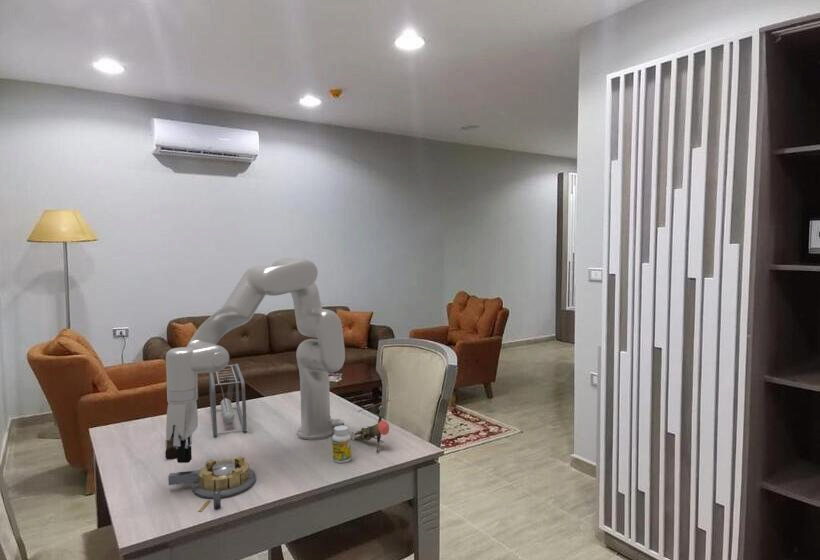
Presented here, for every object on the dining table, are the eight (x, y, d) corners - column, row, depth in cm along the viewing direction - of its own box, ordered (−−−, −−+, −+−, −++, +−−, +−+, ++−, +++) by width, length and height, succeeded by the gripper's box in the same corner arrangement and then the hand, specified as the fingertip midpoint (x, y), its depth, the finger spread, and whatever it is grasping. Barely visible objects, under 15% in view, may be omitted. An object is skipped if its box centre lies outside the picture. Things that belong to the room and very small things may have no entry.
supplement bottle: (354, 456, 154) (353, 425, 153) (346, 464, 149) (345, 432, 148) (337, 454, 155) (336, 423, 155) (329, 462, 150) (328, 430, 150)
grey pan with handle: (250, 466, 145) (249, 453, 145) (247, 487, 133) (246, 472, 133) (174, 475, 140) (173, 461, 140) (164, 497, 128) (163, 482, 128)
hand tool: (180, 458, 154) (179, 443, 154) (165, 461, 153) (164, 445, 152) (180, 436, 172) (179, 423, 171) (166, 438, 170) (166, 424, 170)
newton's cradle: (247, 433, 173) (245, 381, 172) (213, 438, 169) (211, 385, 168) (239, 407, 201) (237, 362, 199) (210, 410, 197) (208, 364, 195)
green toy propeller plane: (367, 464, 167) (409, 454, 154) (342, 458, 161) (383, 446, 149) (371, 416, 176) (411, 402, 163) (348, 408, 170) (387, 393, 158)
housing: (257, 467, 147) (256, 450, 147) (253, 505, 127) (252, 485, 126) (197, 474, 143) (196, 456, 143) (183, 514, 123) (182, 493, 122)
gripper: (179, 386, 145) (181, 450, 146) (155, 403, 130) (157, 474, 131) (206, 386, 145) (208, 450, 146) (185, 402, 130) (187, 473, 131)
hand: (184, 461), depth 139 cm, fingers closed
